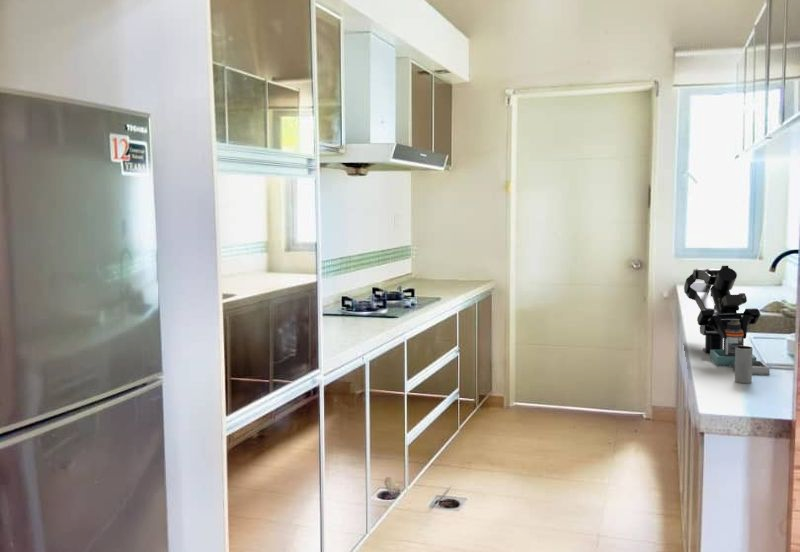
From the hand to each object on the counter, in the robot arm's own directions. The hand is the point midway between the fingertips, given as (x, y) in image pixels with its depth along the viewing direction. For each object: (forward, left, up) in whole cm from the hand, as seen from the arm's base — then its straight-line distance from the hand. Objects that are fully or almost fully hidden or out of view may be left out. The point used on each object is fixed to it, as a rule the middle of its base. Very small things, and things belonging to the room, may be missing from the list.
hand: (735, 338), depth 240 cm
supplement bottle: (-1, 0, -7) cm, 7 cm away
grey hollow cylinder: (+24, -3, -9) cm, 26 cm away
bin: (-2, 0, -8) cm, 9 cm away
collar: (+10, +2, -8) cm, 13 cm away
